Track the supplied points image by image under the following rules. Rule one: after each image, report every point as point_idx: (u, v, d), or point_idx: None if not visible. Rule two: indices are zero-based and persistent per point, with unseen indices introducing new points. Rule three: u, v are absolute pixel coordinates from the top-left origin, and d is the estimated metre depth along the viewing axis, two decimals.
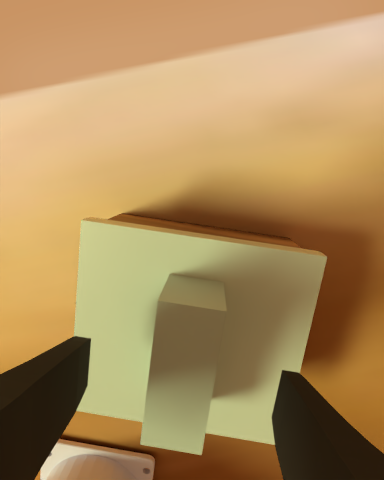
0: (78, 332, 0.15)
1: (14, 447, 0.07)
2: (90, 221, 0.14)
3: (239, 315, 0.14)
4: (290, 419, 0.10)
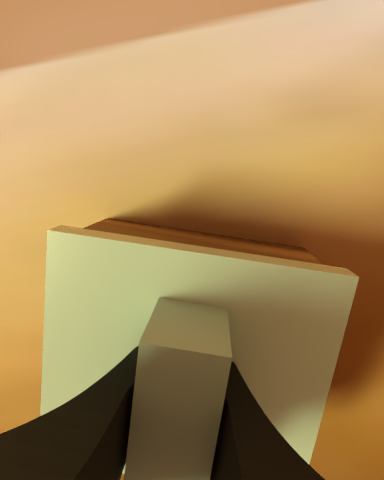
0: (47, 367, 0.12)
1: (109, 464, 0.07)
2: (59, 231, 0.11)
3: (246, 349, 0.11)
4: None
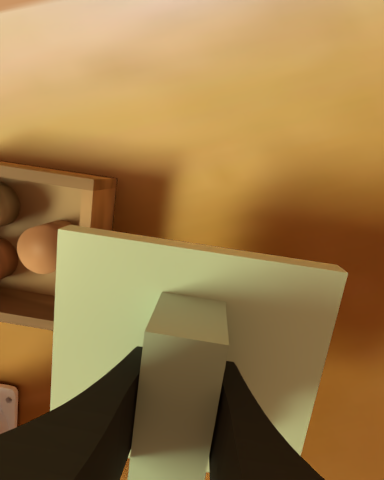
0: (57, 358, 0.13)
1: (108, 464, 0.07)
2: (68, 230, 0.12)
3: (243, 340, 0.12)
4: None
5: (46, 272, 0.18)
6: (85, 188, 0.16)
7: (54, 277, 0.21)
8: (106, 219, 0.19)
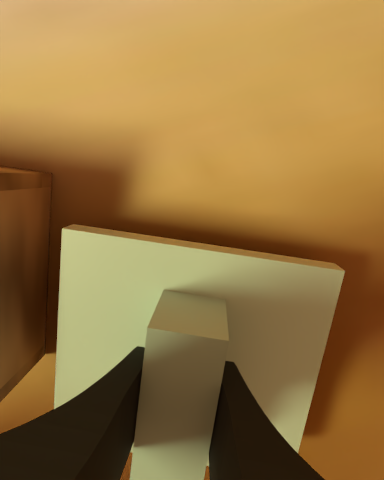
0: (61, 354, 0.13)
1: (109, 464, 0.07)
2: (72, 229, 0.12)
3: (243, 336, 0.12)
4: None
5: None
6: None
7: None
8: (33, 234, 0.13)
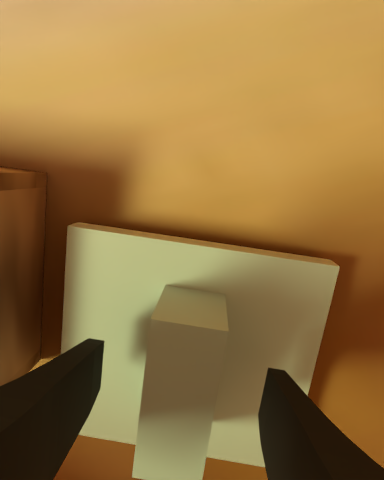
0: (65, 348, 0.13)
1: (34, 451, 0.07)
2: (77, 227, 0.12)
3: (242, 330, 0.13)
4: (274, 416, 0.10)
5: None
6: None
7: None
8: (27, 236, 0.13)
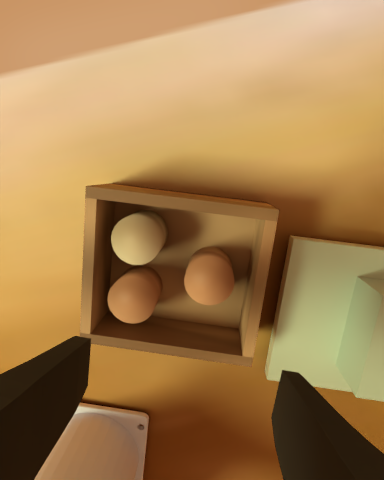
0: (281, 321, 0.20)
1: (14, 447, 0.07)
2: (299, 239, 0.19)
3: None
4: (290, 419, 0.10)
5: (213, 303, 0.18)
6: (269, 219, 0.16)
7: (199, 304, 0.21)
8: None
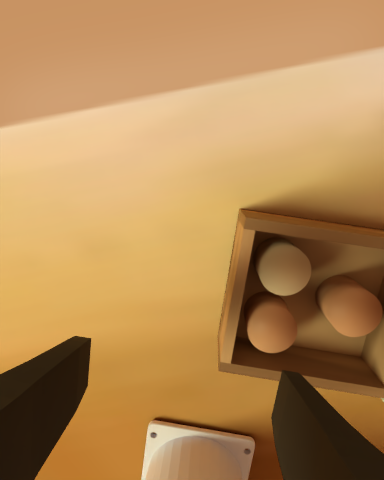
0: None
1: (14, 447, 0.07)
2: None
3: None
4: (290, 419, 0.10)
5: (357, 335, 0.18)
6: None
7: (322, 331, 0.20)
8: None
